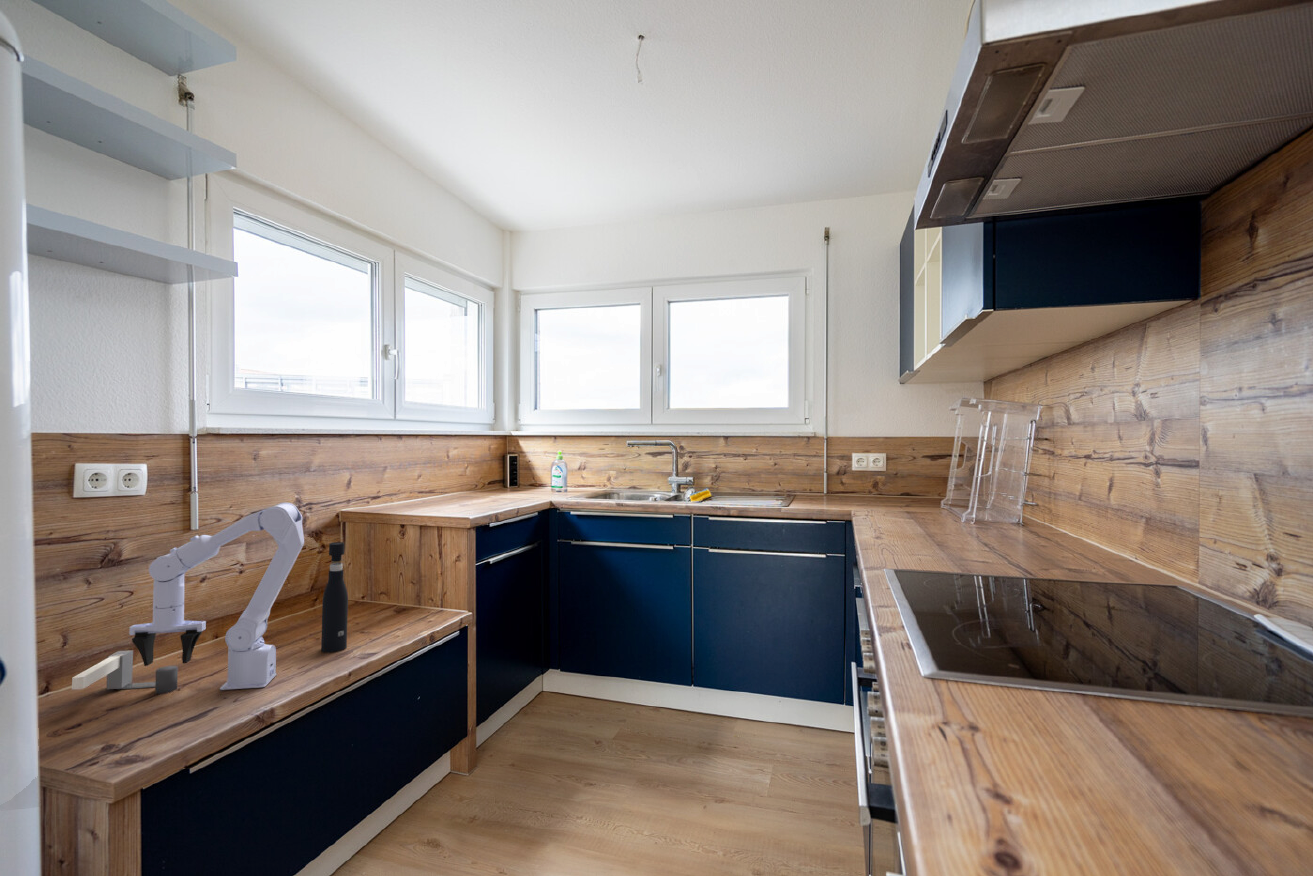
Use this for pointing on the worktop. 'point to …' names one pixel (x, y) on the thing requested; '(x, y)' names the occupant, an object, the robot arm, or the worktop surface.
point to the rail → (139, 685)
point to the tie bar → (108, 672)
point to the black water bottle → (335, 604)
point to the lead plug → (166, 679)
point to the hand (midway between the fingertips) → (167, 663)
